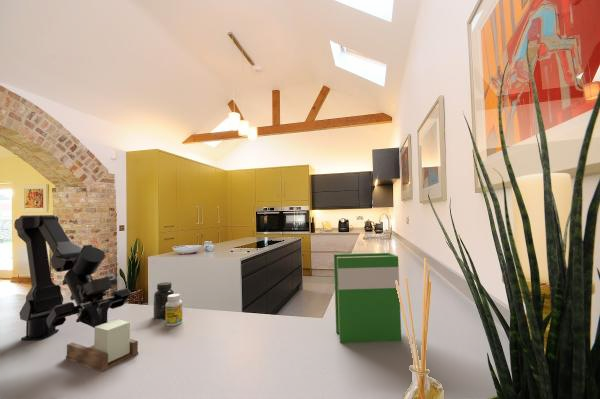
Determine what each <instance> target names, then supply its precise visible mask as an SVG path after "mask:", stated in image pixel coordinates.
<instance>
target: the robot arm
mask: <svg viewBox="0 0 600 399" xmlns="http://www.w3.org/2000/svg"><path fill="white" fill-rule="evenodd" d="M59 220H60V219H59V217H58V216H57V215H54V214H40V215H39V214H38V215H36V214H34V215H33V214H31V215H29V214H28V215H20V216H19V217H18V218H17V219H15V221H14V226H13V227H14V229H15V230H16V233H17V236H18V237H19V238H20V240H22V241H23V242H24V243H25V245H26V246H25V247H26V254H27V260H28V261H27V262H28V268H29V276H30V277H29V278H30V283H31V288H30V289H29V291H28V292H27V294H26V296H25V301H24V302H25V303H24V304H23V306H22V307H21V309H20V311H19V319H20V320H22V321H24V322H26V327H25V328H26V330H25V335H24V336H23V337H21V338H20V340H21V341H22V340H23V341H25V340H27V341H28V340H31V341H32V340H42V339H45V338H46V337H49V336H51V335H53V334H55V333H57V332H60V329H59V328H57V327H59V326H62V325H64V324H65V322H66V321H67V318H66V317H69V316H73V315H76V316H77V318H76V320H75V322H76V323H81V324H84V325H87V326H90V327H92V328H93V329H95V327H96V326H99V325H101V324H104V323H107V322H108V312H109V309H111V310H113V309H114V310H115V309H118V308H120V307H122V306H125V303H126V302H127V301H128V299H129V298H130V297H131V295H132V292H131V291H130V289H129V288H128V287H127V288H126V287H125V288H124V287H123V288H121V289H117V290H114V291H113V292H112V293H111V295H110V296H109V297H105V296H106V295H107V293H108V292H107V291H108V290H110V289H112V288H113V287H115V285H117V283H118V280H117V278H116V275H115V274H114V273H111V274H108V275H105V276H104V277H100V278H97V279H96V278H95V279H94V278H93V276H92V275H93V274H95V273H96V272H97V270H99V267H100V266H101V265H102V263H103V261H104V259H105V257H106V254H105V251H103V250H102V249H100V248H98V247H94V246H93V244H85V245H83V246H82V247H81V246H79V245H77V244H75V243H73V242H71V240H70V239H69V236H68V235H67V234H66V232H65V231H64V229H63V227H62V226H61V224H60V222H59ZM47 246H48V247H49V248H50V250H51V252H52V256H51V257H50V258H49V254H48V247H47ZM49 259H50V260H49ZM50 263H51V265H50ZM50 266H51V267H50ZM50 268H52V269H54V271H55V272H56V273H62V272H63V273H64V272H66V273H65V274H64V276H63V280H62V286H63V285H64V286H65V285H67V287H68V289H69V291H70V293H71V294H70V297H69V299H70V300H71V301H73V300H74V301H75V303H74V302H71V301H70V302H66V303H63V302H64V297H63V294H62V288H61V286H60V285H59V284H56V283H54V282H53V281H52V273H51V269H50ZM75 304H76V305H75Z"/></svg>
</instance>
